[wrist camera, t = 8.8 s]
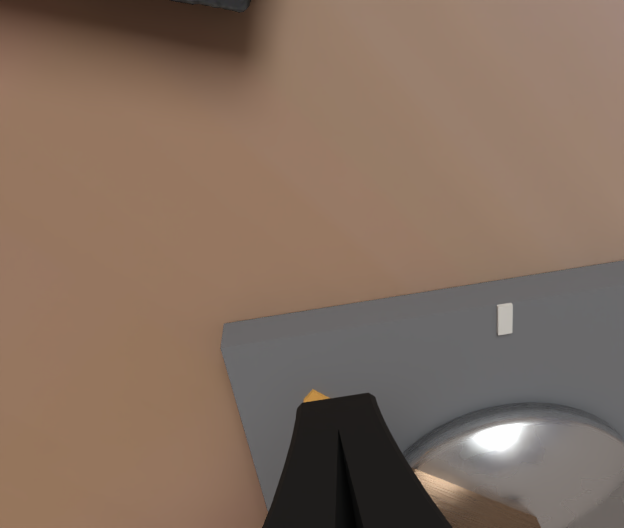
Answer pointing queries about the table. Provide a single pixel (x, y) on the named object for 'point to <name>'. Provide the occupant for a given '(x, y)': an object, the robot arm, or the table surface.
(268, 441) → the dial panel
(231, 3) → the disk drive
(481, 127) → the table surface
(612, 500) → the dial
